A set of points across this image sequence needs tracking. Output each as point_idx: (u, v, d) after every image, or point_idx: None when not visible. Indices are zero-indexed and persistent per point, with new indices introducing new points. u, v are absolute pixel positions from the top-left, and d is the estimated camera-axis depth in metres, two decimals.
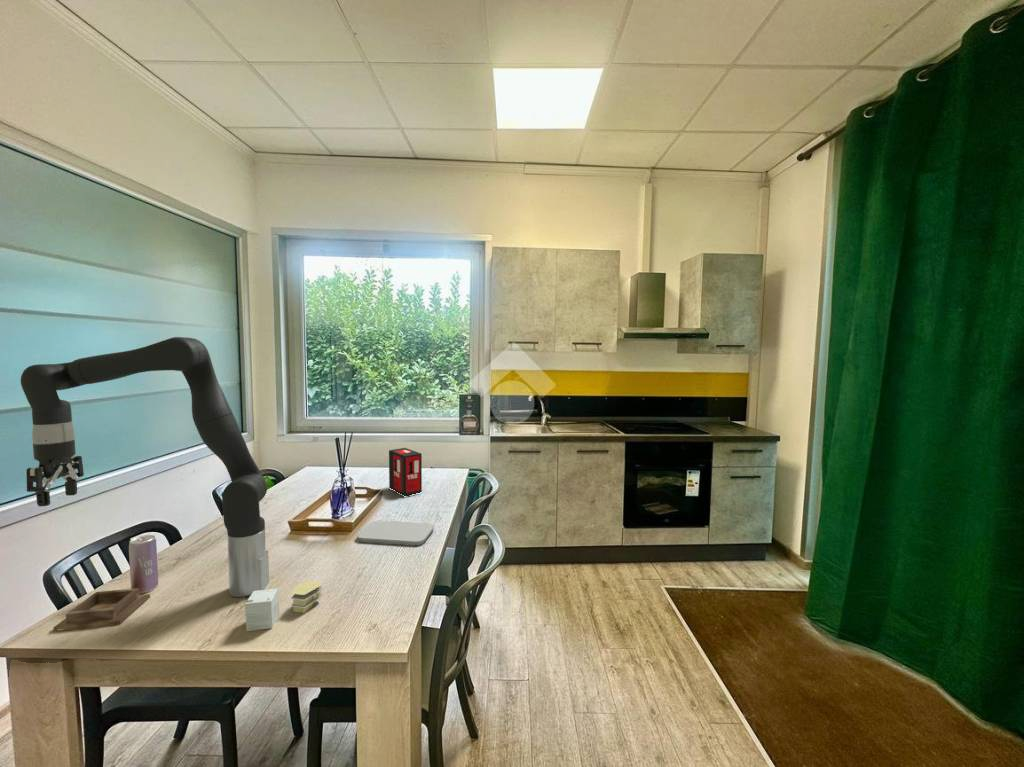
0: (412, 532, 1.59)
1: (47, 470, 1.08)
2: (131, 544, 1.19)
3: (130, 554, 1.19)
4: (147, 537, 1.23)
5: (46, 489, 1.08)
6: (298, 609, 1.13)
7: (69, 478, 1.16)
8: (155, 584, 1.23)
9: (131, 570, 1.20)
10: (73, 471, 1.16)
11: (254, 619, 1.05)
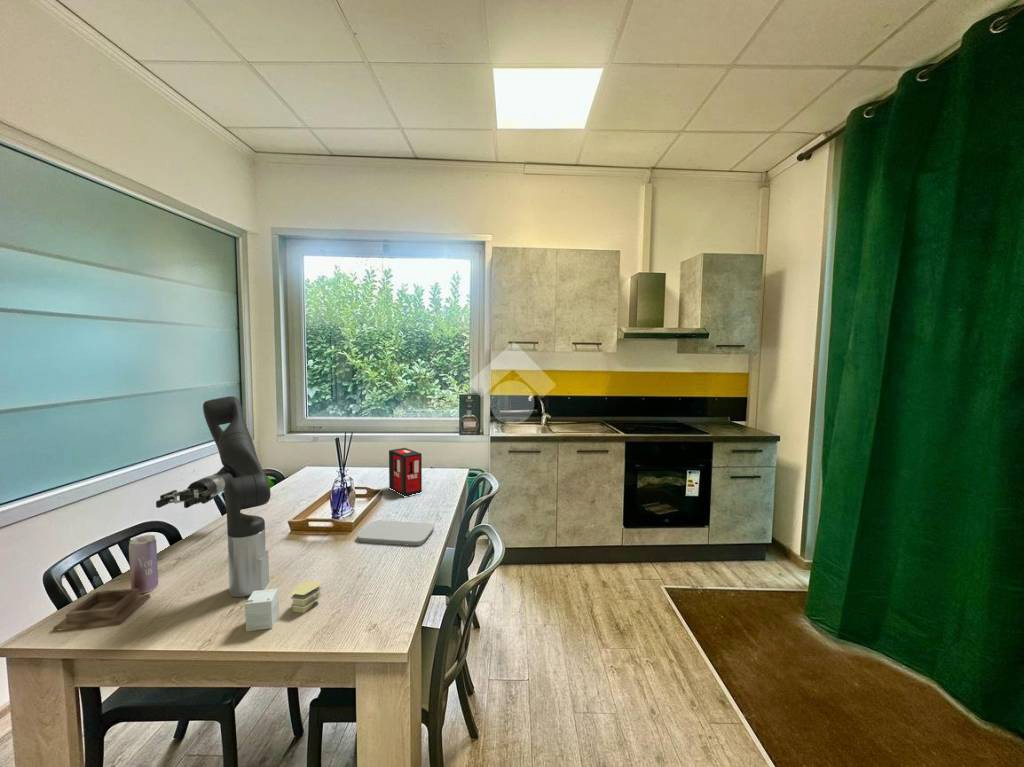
0: (412, 532, 1.59)
1: None
2: (131, 544, 1.19)
3: (130, 554, 1.19)
4: (147, 537, 1.23)
5: (165, 496, 1.37)
6: (297, 609, 1.13)
7: None
8: (155, 584, 1.23)
9: (131, 570, 1.20)
10: (196, 492, 1.39)
11: (254, 619, 1.05)
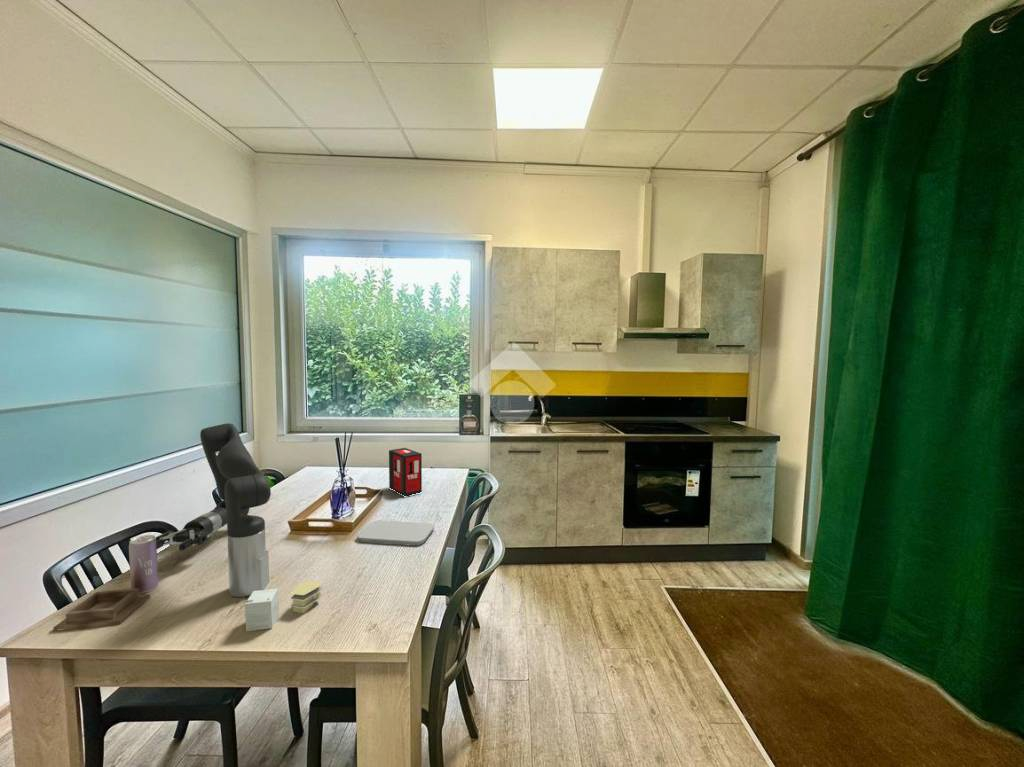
0: (412, 532, 1.59)
1: None
2: (131, 544, 1.19)
3: (130, 554, 1.19)
4: (147, 537, 1.23)
5: (161, 537, 1.35)
6: (297, 609, 1.13)
7: None
8: (155, 584, 1.23)
9: (131, 570, 1.20)
10: (192, 533, 1.37)
11: (254, 619, 1.05)
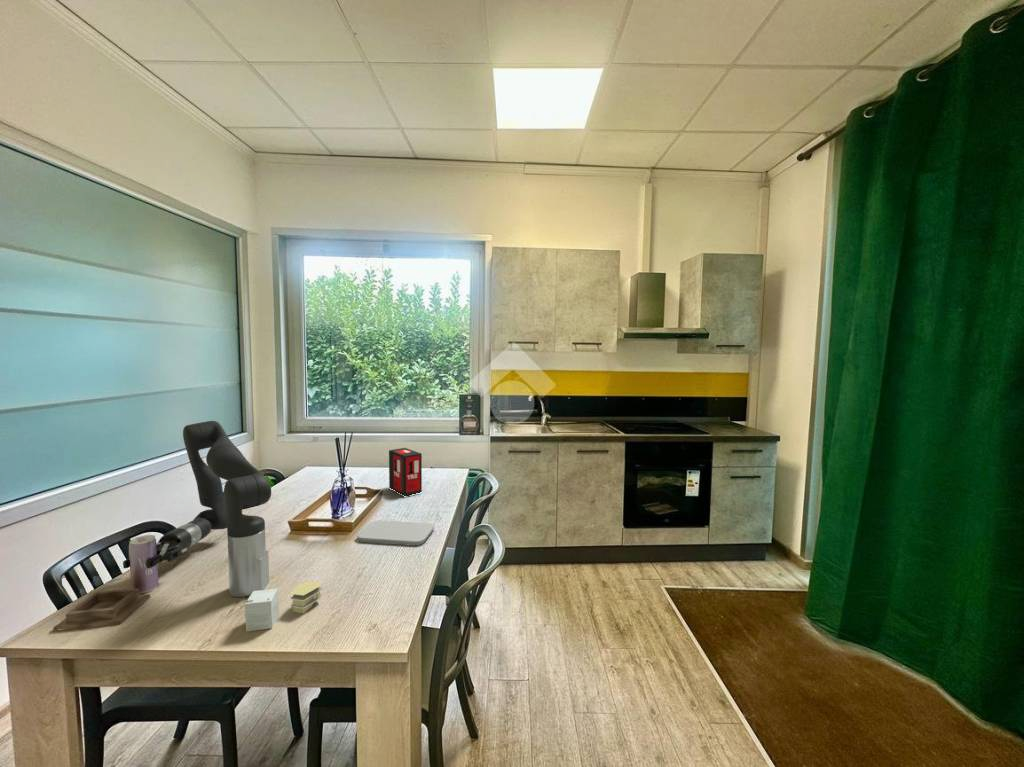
0: (412, 532, 1.59)
1: None
2: (131, 544, 1.19)
3: (130, 554, 1.19)
4: (147, 537, 1.23)
5: None
6: (297, 609, 1.13)
7: None
8: (155, 584, 1.23)
9: (131, 570, 1.20)
10: (165, 547, 1.27)
11: (254, 619, 1.05)
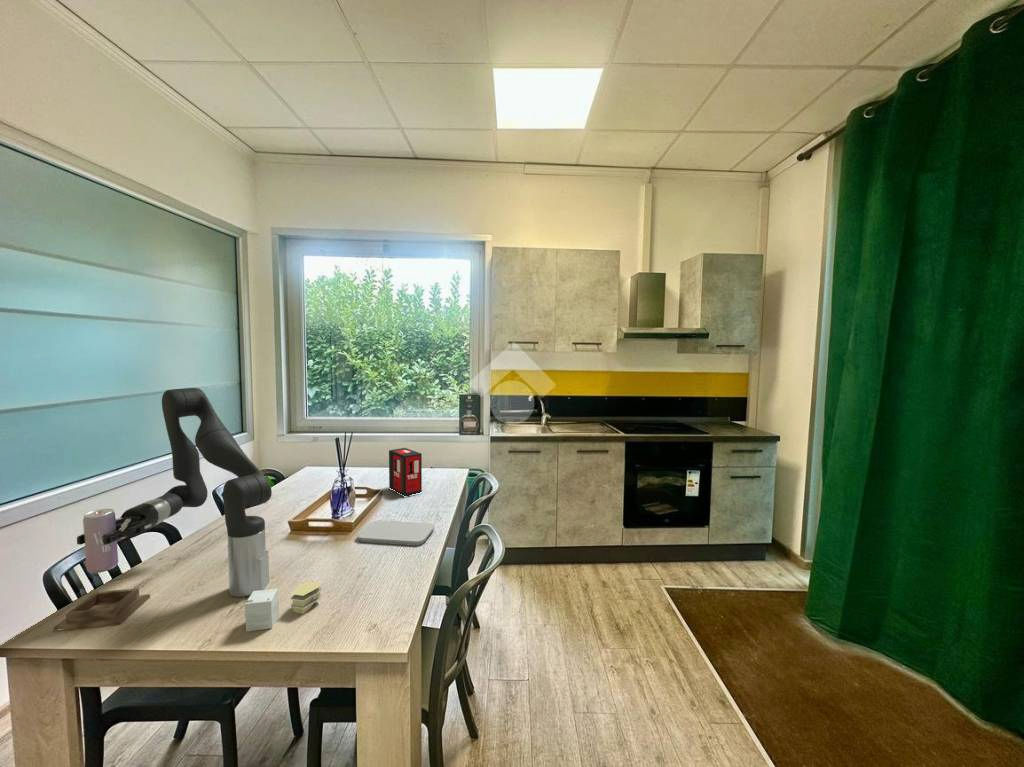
0: (412, 532, 1.59)
1: None
2: (85, 517, 1.07)
3: (84, 529, 1.07)
4: (105, 511, 1.11)
5: None
6: (297, 609, 1.13)
7: None
8: (114, 562, 1.11)
9: (86, 546, 1.08)
10: (126, 523, 1.15)
11: (254, 619, 1.05)
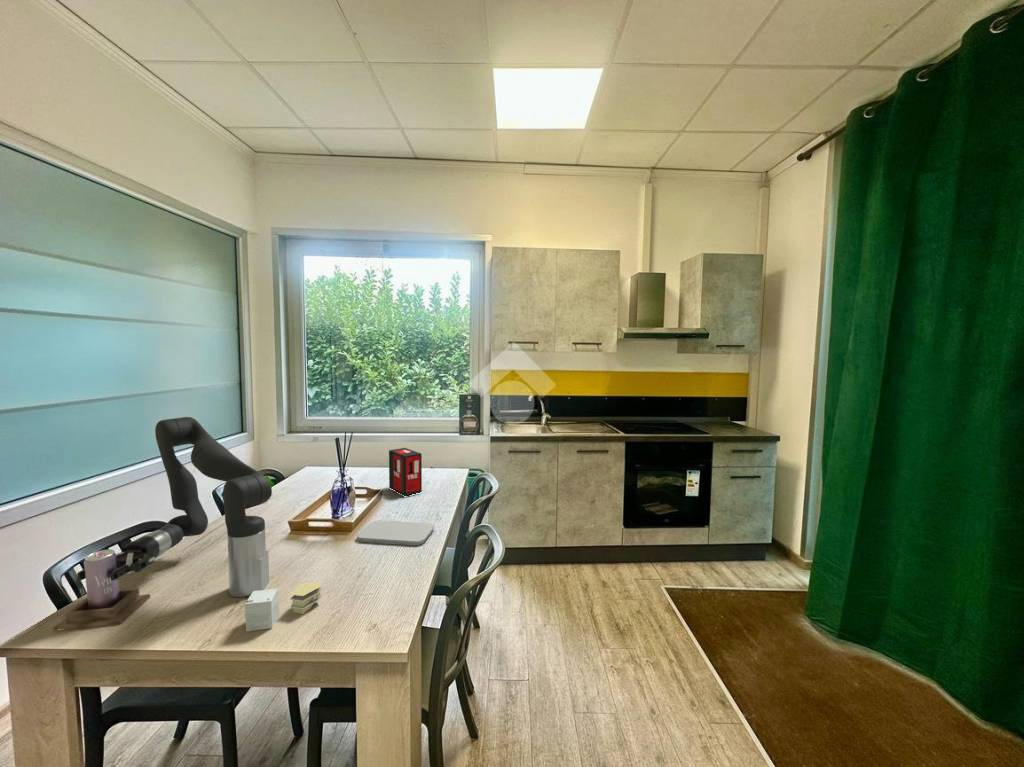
0: (412, 532, 1.59)
1: None
2: (86, 561, 1.07)
3: (86, 572, 1.08)
4: (105, 552, 1.11)
5: None
6: (297, 610, 1.13)
7: None
8: None
9: (88, 589, 1.08)
10: (130, 557, 1.16)
11: (254, 619, 1.05)
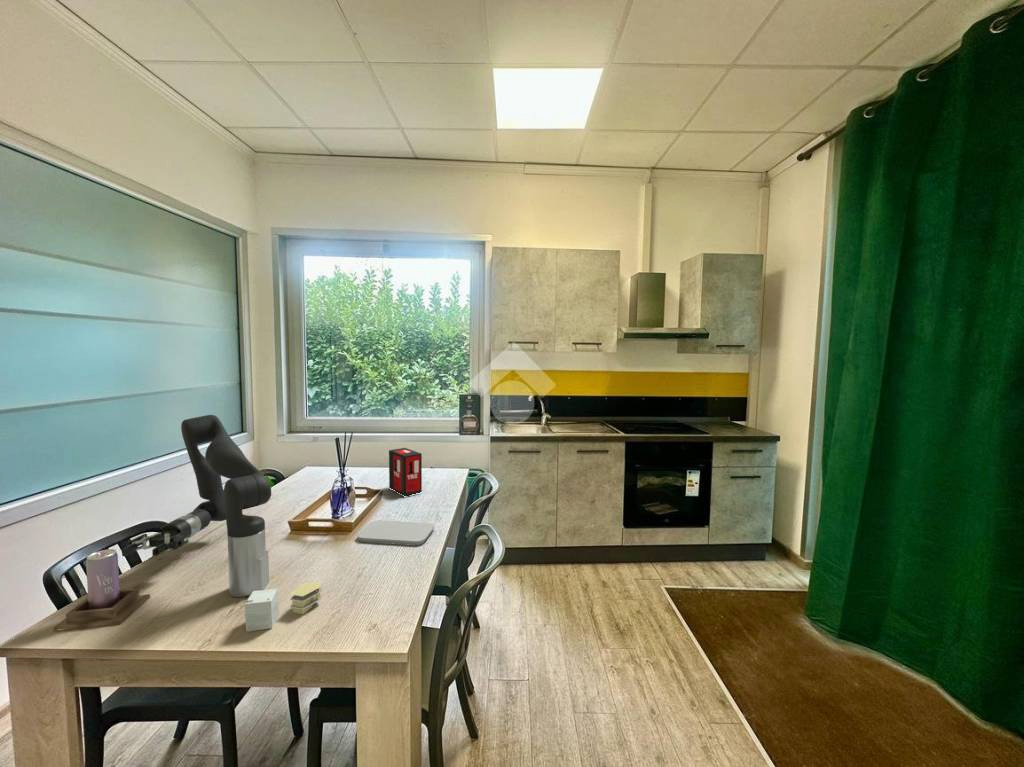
0: (412, 532, 1.59)
1: None
2: (88, 560, 1.08)
3: (87, 571, 1.08)
4: (107, 552, 1.12)
5: (133, 542, 1.26)
6: (297, 610, 1.13)
7: None
8: None
9: (88, 588, 1.08)
10: (167, 537, 1.29)
11: (254, 619, 1.05)
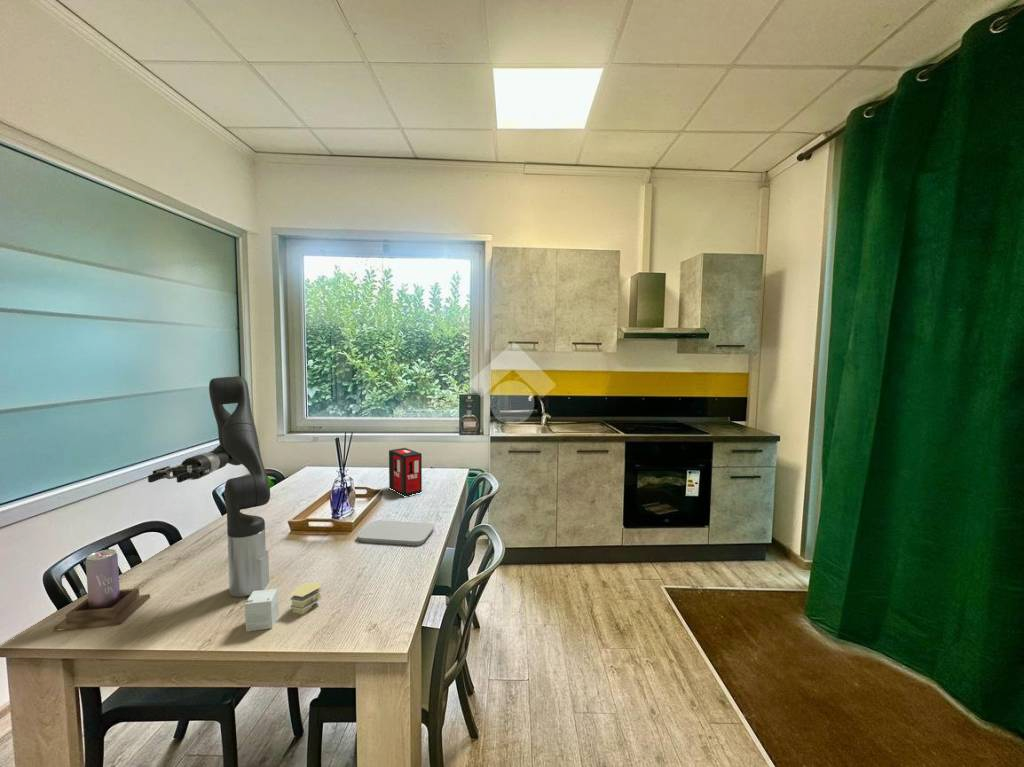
0: (412, 532, 1.59)
1: None
2: (88, 560, 1.08)
3: (87, 571, 1.08)
4: (107, 552, 1.12)
5: (158, 471, 1.33)
6: (296, 610, 1.12)
7: None
8: None
9: (88, 589, 1.08)
10: (189, 467, 1.36)
11: (254, 619, 1.05)
